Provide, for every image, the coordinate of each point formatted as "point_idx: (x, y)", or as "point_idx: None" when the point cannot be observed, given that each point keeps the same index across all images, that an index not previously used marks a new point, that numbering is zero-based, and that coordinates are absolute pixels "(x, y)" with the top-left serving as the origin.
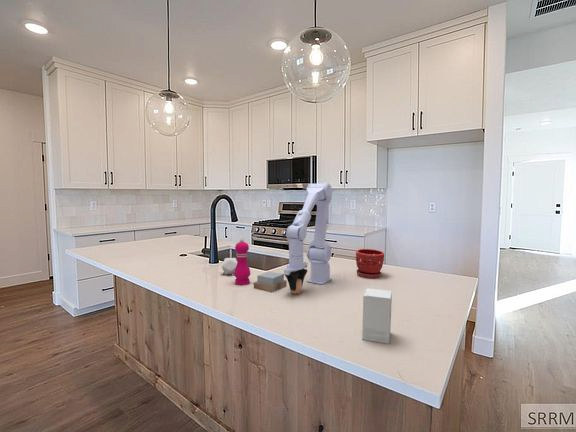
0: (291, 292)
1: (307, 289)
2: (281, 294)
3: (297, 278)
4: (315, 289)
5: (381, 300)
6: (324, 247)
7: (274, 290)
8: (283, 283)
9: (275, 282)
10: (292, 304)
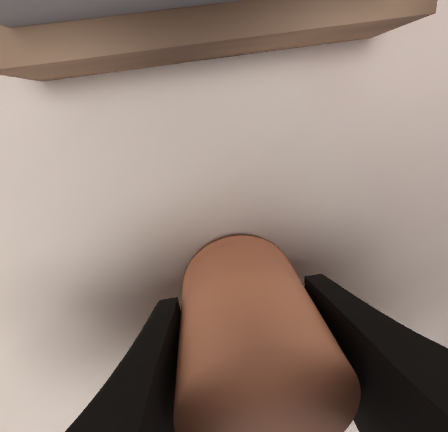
0: (184, 275)
1: (379, 288)
2: (87, 213)
3: (350, 382)
4: (411, 329)
5: None
6: None
7: (74, 73)
8: (319, 34)
9: (91, 1)
10: (7, 420)
